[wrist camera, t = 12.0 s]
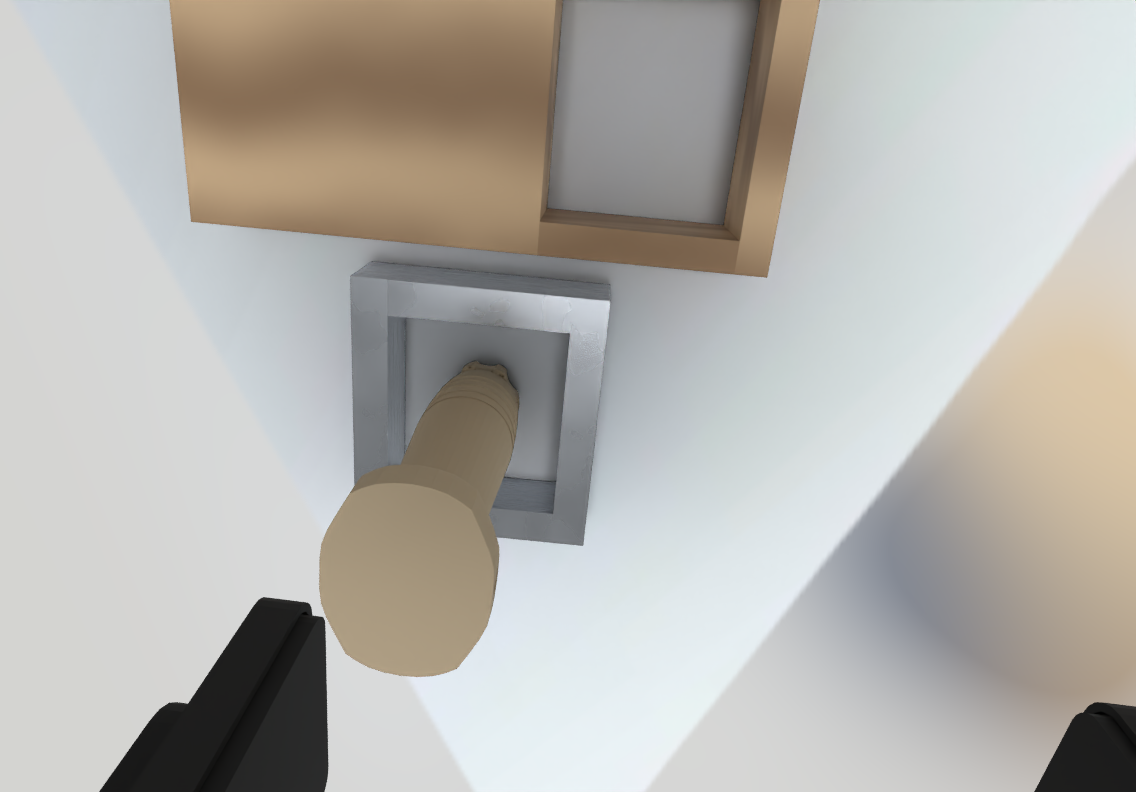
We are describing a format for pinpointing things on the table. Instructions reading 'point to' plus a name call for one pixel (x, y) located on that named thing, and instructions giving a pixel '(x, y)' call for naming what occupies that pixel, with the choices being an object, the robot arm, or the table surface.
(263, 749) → the robot arm
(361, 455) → the collar
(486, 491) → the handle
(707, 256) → the wooden box
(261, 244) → the table surface
